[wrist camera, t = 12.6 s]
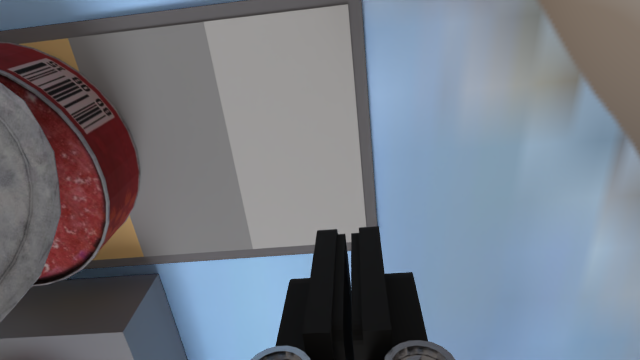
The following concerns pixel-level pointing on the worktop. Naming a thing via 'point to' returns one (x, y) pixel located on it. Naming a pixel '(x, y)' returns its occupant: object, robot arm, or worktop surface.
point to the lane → (231, 124)
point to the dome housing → (92, 322)
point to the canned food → (57, 171)
